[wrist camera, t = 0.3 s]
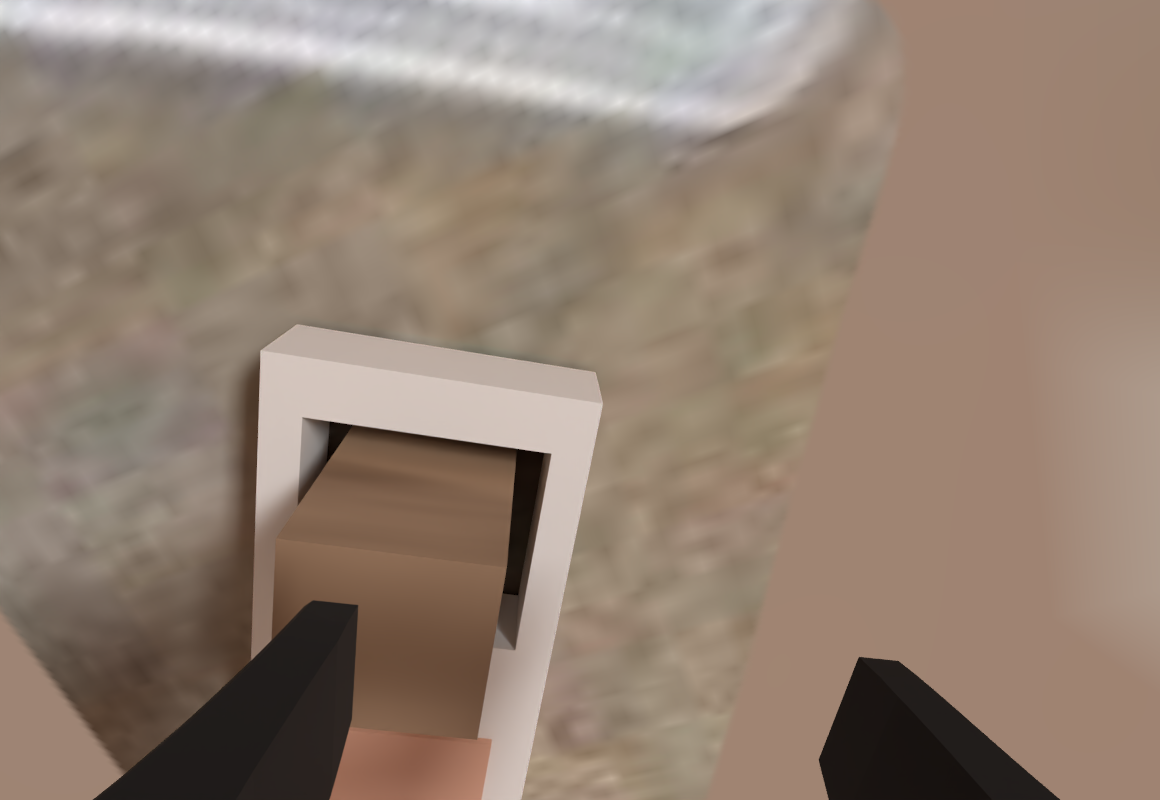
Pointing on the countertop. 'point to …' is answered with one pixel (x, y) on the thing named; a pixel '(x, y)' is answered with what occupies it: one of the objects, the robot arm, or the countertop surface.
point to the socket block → (454, 411)
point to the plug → (406, 571)
